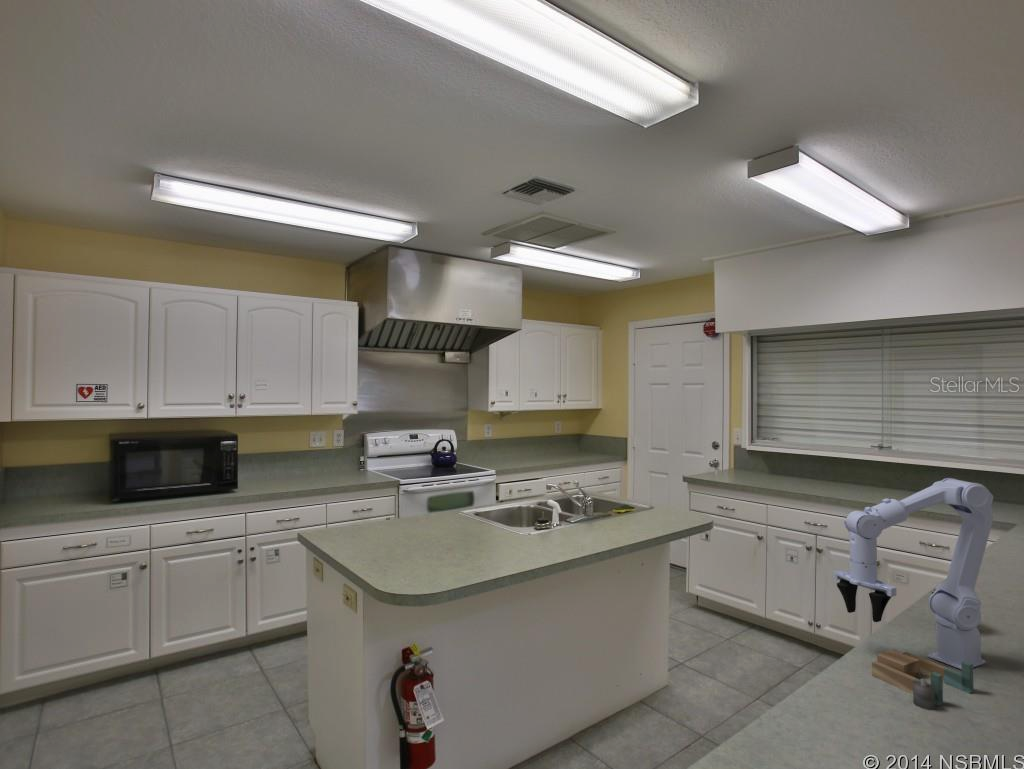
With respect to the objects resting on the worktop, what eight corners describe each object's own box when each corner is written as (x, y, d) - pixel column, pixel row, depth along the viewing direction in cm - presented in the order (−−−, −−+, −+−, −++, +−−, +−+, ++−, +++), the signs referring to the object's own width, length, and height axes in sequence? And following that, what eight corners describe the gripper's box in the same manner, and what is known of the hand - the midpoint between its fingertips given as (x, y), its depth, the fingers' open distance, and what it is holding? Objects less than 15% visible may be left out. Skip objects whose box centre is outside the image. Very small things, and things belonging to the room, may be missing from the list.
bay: (906, 664, 136) (905, 639, 137) (975, 692, 123) (974, 664, 124) (859, 679, 129) (859, 652, 129) (928, 711, 116) (927, 681, 116)
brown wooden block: (892, 666, 136) (892, 649, 136) (919, 677, 130) (919, 660, 131) (877, 671, 133) (877, 654, 133) (904, 683, 128) (903, 665, 128)
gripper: (825, 555, 144) (825, 608, 144) (882, 571, 131) (883, 630, 131) (843, 552, 147) (844, 604, 147) (901, 567, 134) (902, 625, 134)
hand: (863, 616), depth 139 cm, fingers open, 6 cm apart
